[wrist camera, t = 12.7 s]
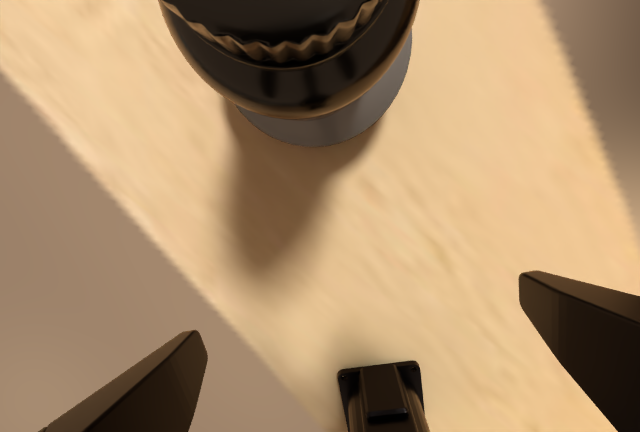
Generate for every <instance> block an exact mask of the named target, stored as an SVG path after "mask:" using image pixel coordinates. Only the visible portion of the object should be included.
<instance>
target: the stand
mask: <svg viewBox="0 0 640 432" xmlns="http://www.w3.org/2000/svg"><path fill="white" fill-rule="evenodd" d="M411 46H412V28H411V31H410V33H409V35H408V38H407V40H406V42H405V44H404V46H403V48H402V49H401V51H400V53H399V54H398V56H397V58H396V59H395V61H394V62H393V63H392V65H391V66H390V68H389V69H388V70H387V72H386V73H385V74H384V75H383V76H382V78H381V79H380V80H379V81H378V82H377V83H376V84H375V85H374V86H373V87H372V88H371V89H370V90H369V91H368V92H366V93H365V94H364V95H362V96H361V97H360V98H359V99H357V100H356V101H354V102H353V103H351V104H350V105H348V106H347V107H345V108H344V109H342V110H341V111H339V112H337V113H335V114H333V115H332V116H329V117H326V118H323V119H319V120H314V121H294V120H285V119H278V118H272V117H268V116H264V115H260V114H257V113H254V112H252V111H249V110H247V109H245V108H243V107H241V106H239V105H237V104H235V103H234V104H235V105H236V106H237V108H238V109H239V110H240V112H241V113H242V114H243V115H244V116H245V117H246V118H247V119H248V120H249V121H250V122H251V123H252V124H253V125H255V126H256V127H257V128H258V129H260V130H261V131H263V132H264V133H266V134H268V135H269V136H271V137H273V138H275V139H278V140H280V141H282V142H286V143H289V144H292V145H298V146H304V147H320V146H329V145H333V144H337V143H341V142H343V141H346V140H348V139H351V138H353V137H355V136H356V135H358V134H360V133H362V132H363V131H365V130H366V129H367V128H369V127H370V126H371V125H373V124H374V123H375V122H376V121H377V120H378V119H379V118H380V117H381V116H382V115H383V114H384V112H385V111H386V110H387V109H388V108H389V106H390V105H391V103H392V102H393V100H394V99H395V97H396V95H397V94H398V92H399V89H400V87H401V85H402V83H403V81H404V78H405V75H406V72H407V69H408V65H409V60H410V55H411Z"/></svg>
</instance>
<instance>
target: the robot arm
mask: <svg viewBox="0 0 640 432" xmlns="http://www.w3.org/2000/svg"><path fill="white" fill-rule="evenodd" d="M519 301H520V305H521V307H522V309H523V311H524V312H525V314H526V315H527V317H528V318H529V319H530V321H531V322H532V324H533V325H534V327H535V328H536V330H537V331H538V332H539V334H540V335H541V337H542V338H543V340H544V341H545V343H546V344H547V346H548V347H549V348H550V350H551V351H552V353H553V354H554V355H555V357H556V358H557V360H558V361H559V362H560V363H561V365H562V366H563V367H564V368H565V369H566V371H567V372H568V373H569V374H570V375H571V377H572V378H573V379H574V380H575V381H576V382H577V384H578V385H579V386H580V387H581V388H582V390H583V391H584V392H585V393H586V394H587V395H588V397H589V398H590V399H591V400H592V401H593V403H594V404H595V405H596V406H597V407H598V408H599V410H600V411H601V412H602V413H603V414H604V416H605V417H606V418H607V419H608V420H609V422H610V423H611V424H612V425H613V426H614V427H615V429H616V430H617V431H618V432H640V296H636V295H632V294H628V293H624V292H620V291H616V290H612V289H609V288H605V287H601V286H597V285H593V284H589V283H585V282H581V281H577V280H573V279H569V278H565V277H561V276H557V275H553V274H550V273H546V272H542V271H529V272H524V273H521V274H520V275H519ZM207 359H208V355H207V351H206V348H205V346H204V344H203V341H202V338H201V336H200V333H199V332H198V331H197V330H191V331H185V332H182V333H180V334H179V335H177V336H176V337H175V338H173V339H172V340H170V341H169V342H167V343H166V344H164V345H163V346H161V347H160V348H159V349H157V350H156V351H154V352H153V353H151V354H150V355H148V356H147V357H146V358H144V359H143V360H141V361H140V362H138V363H137V364H135V365H134V366H132V367H131V368H130V369H128V370H127V371H125V372H124V373H122V374H121V375H120V376H118V377H117V378H115V379H114V380H112V381H111V382H109V383H108V384H106V385H105V386H104V387H102V388H101V389H99V390H98V391H96V392H95V393H94V394H92V395H91V396H89V397H88V398H86V399H85V400H83V401H82V402H81V403H79V404H78V405H76V406H75V407H73V408H72V409H70V410H69V411H67V412H66V413H65V414H63V415H62V416H60V417H59V418H58V419H56V420H54V421H53V422H52V423H50V424H49V425H48V427H44V428H43V429H41V430H40V431H38V432H188V430H189V428H190V425H191V422H192V419H193V416H194V412H195V409H196V405H197V401H198V397H199V393H200V389H201V385H202V381H203V377H204V373H205V369H206V365H207ZM412 367H415V368H412ZM343 376H345V377H343ZM338 381H339V386H340V392H341V397H342V402H343V407H344V412H345V417H346V422H347V427H348V431H349V432H430V430H429V427H428V424H427V421H426V418H425V413H424V403H423V393H422V383H421V373H420V367H419V364H418V363H417V362H416V361H405V362H397V363H389V364H381V365H373V366H365V367H357V368H349V369H342V370H340V371H339V372H338Z"/></svg>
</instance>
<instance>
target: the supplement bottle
mask: <svg viewBox="0 0 640 432" xmlns="http://www.w3.org/2000/svg"><path fill="white" fill-rule="evenodd" d="M419 1H420V0H158V2H159V5H160V9H161V11H162V14H163V17H164V20H165V22H166V25H167V27H168V29H169V31H170V34H171V36H172V37H173V39H174V41H175V43H176V45H177V47H178V48H179V50H180V51H181V53H182V54H183V56H184V57H185V59H186V60H187V62H188V63H189V64H190V65H191V67H192V68H193V69H194V70H195V72H196V73H197V74H198V75H199V76H200V77H201V78H202V79H203V80H204V81H205V82H206V83H207V84H208V85H209V86H211V87H212V88H213V89H214V90H215V91H217V92H218V93H219V94H221V95H222V96H223V97H225V98H226V99H228V100H230V101H231V102H233V103H235V104H237V105H239V106H241V107H243V108H245V109H247V110H249V111H252V112H254V113H257V114H260V115H264V116H268V117H272V118H278V119H285V120H294V121H314V120H319V119H323V118H326V117H329V116H332V115H333V114H335V113H337V112H339V111H341V110H342V109H344V108H345V107H347V106H348V105H350V104H351V103H353V102H354V101H356V100H357V99H359V98H360V97H361V96H362V95H364V94H365V93H366V92H368V91H369V90H370V89H371V88H372V87H373V86H374V85H375V84H376V83H377V82H378V81H379V80H380V79H381V78H382V76H383V75H384V74H385V73H386V72H387V70H388V69H389V68H390V66H391V65H392V63H393V62H394V61H395V59H396V58H397V56H398V54H399V53H400V51H401V49H402V48H403V46H404V44H405V42H406V40H407V38H408V35H409V33H410V31H411V28H412V25H413V23H414V20H415V16H416V13H417V10H418V6H419Z"/></svg>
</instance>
